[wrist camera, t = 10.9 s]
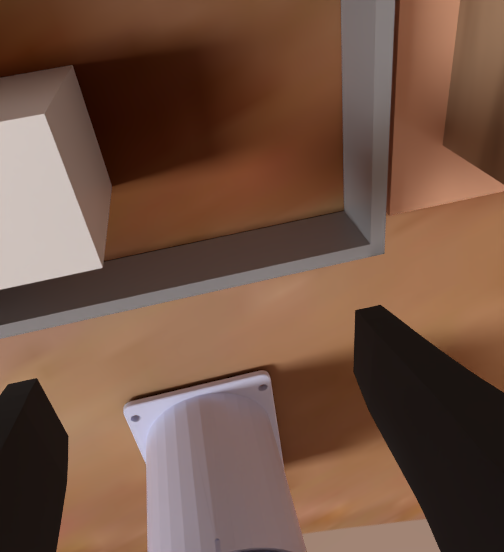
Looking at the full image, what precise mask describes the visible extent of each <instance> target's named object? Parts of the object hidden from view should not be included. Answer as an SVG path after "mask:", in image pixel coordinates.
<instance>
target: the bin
mask: <svg viewBox="0 0 504 552" xmlns="http://www.w3.org/2000/svg"><path fill="white" fill-rule="evenodd" d="M394 15H395V0H341V34H342V100H343V167H344V211H342V212H337V213H332V214H327V215H323V216H318V217H313V218H309V219H304V220H299V221H294V222H290V223H285V224H280V225H276V226H271V227H266V228H261V229H257V230H252V231H247V232H242V233H238V234H233V235H228V236H224V237H219V238H214V239H209V240H205V241H200V242H195V243H191V244H186V245H181V246H176V247H172V248H167V249H162V250H157V251H153V252H148V253H143V254H139V255H134V256H129V257H124V258H120V259H115V260H110V261H106V262H103V268H100V269H95V270H91V271H86V272H81V273H77V274H72V275H67V276H62V277H58V278H53V279H48V280H44V281H39V282H34V283H30V284H25V285H20V286H15V287H11V288H6V289H1V290H0V339H1V338H6V337H10V336H15V335H19V334H24V333H28V332H33V331H37V330H42V329H46V328H51V327H55V326H60V325H64V324H69V323H73V322H78V321H82V320H87V319H91V318H96V317H101V316H105V315H110V314H114V313H119V312H123V311H128V310H132V309H137V308H141V307H146V306H150V305H155V304H159V303H164V302H168V301H173V300H177V299H182V298H186V297H191V296H195V295H200V294H204V293H209V292H213V291H218V290H222V289H227V288H231V287H236V286H240V285H245V284H250V283H254V282H259V281H263V280H268V279H272V278H277V277H281V276H286V275H290V274H295V273H299V272H304V271H308V270H313V269H317V268H322V267H326V266H331V265H335V264H340V263H344V262H349V261H353V260H358V259H362V258H367V257H371V256H376V255H380V254H384V248H385V225H386V202H387V178H388V155H389V132H390V109H391V85H392V62H393V39H394Z"/></svg>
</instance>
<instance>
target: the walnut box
mask: <svg viewBox="0 0 504 552" xmlns="http://www.w3.org/2000/svg"><path fill="white" fill-rule="evenodd" d="M443 146H444V147H446V148H447V149H449V150H451V151H452V152H454V153H455V154H457V155H458V156H460V157H462V158H463V159H465V160H466V161H468V162H469V163H471V164H472V165H474V166H476V167H477V168H479V169H480V170H482V171H483V172H485V173H487V174H488V175H490V176H491V177H493V178H494V179H496V180H497V181H499V182H501V183H502V184H504V0H460V6H459V14H458V22H457V31H456V39H455V47H454V55H453V63H452V72H451V80H450V88H449V96H448V105H447V113H446V121H445V129H444V137H443Z"/></svg>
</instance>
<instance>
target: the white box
mask: <svg viewBox="0 0 504 552" xmlns="http://www.w3.org/2000/svg"><path fill="white" fill-rule="evenodd" d="M111 191H112V185H111V182H110V179H109V176H108V172H107V169H106V166H105V163H104V160H103V157H102V154H101V151H100V148H99V145H98V142H97V139H96V136H95V132H94V129H93V126H92V123H91V120H90V117H89V114H88V111H87V108H86V105H85V102H84V99H83V96H82V93H81V89H80V86H79V83H78V80H77V77H76V74H75V71H74V68H73V65H70V66H64V67H58V68H53V69H47V70H41V71H35V72H30V73H24V74H18V75H13V76H7V77H1V78H0V290H1V289H6V288H11V287H15V286H20V285H25V284H30V283H34V282H39V281H44V280H48V279H53V278H58V277H62V276H67V275H72V274H77V273H81V272H86V271H91V270H95V269H100V268H103V261H104V252H105V244H106V235H107V226H108V217H109V208H110V200H111Z"/></svg>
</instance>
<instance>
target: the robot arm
mask: <svg viewBox="0 0 504 552" xmlns="http://www.w3.org/2000/svg"><path fill="white" fill-rule="evenodd" d="M353 372H354V374H355V377H356V379H357V382H358V385H359V387H360V390H361V392H362V395H363V397H364V400H365V402H366V405H367V407H368V410H369V412H370V414H371V415H372V417H373V419H374V421H375V423H376V425H377V427H378V429H379V430H380V432H381V434H382V436H383V438H384V440H385V441H386V443H387V445H388V447H389V449H390V451H391V452H392V454H393V456H394V458H395V460H396V462H397V463H398V465H399V467H400V469H401V471H402V473H403V474H404V476H405V478H406V480H407V482H408V484H409V485H410V487H411V489H412V491H413V493H414V495H415V496H416V498H417V500H418V502H419V504H420V506H421V508H422V510H423V512H424V515H425V517H426V519H427V521H428V523H429V526H430V528H431V530H432V533H433V535H434V537H435V540H436V542H437V544H438V547H439V549H440V551H441V552H504V393H503V392H502V391H500V390H499V389H497V388H495V387H494V386H492V385H491V384H489V383H488V382H486V381H484V380H483V379H481V378H480V377H478V376H477V375H475V374H474V373H472V372H471V371H469V370H468V369H466V368H465V367H463V366H462V365H461V364H459V363H458V362H456V361H455V360H454V359H452V358H451V357H449V356H448V355H446V354H445V353H444V352H442V351H441V350H439V349H438V348H437V347H435V346H434V345H433V344H431V343H430V342H429V341H427V340H426V339H425V338H423V337H422V336H421V335H419V334H418V333H417V332H415V331H414V330H413V329H411V328H410V327H409V326H408V325H406V324H405V323H404V322H402V321H401V320H400V319H398V318H397V317H396V316H395V315H393V314H392V313H391V312H389V311H388V310H387V309H385V308H384V307H383V306H381V305H378V306H373V307H369V308H364V309H359V310H355V339H354V371H353ZM263 384H264V385H263ZM260 385H262V386H260ZM123 412H124V416H125V418H126V420H127V422H128V425H129V427H130V429H131V431H132V434H133V436H134V438H135V440H136V443H137V445H138V447H139V449H140V452H141V454H142V456H143V458H144V461H145V463H146V473H147V541H148V552H307V551H306V547H305V544H304V540H303V536H302V533H301V529H300V526H299V522H298V518H297V515H296V511H295V508H294V504H293V501H292V497H291V493H290V490H289V486H288V483H287V479H286V476H285V472H284V463H283V457H282V450H281V444H280V437H279V431H278V424H277V417H276V411H275V404H274V398H273V391H272V385H271V378H270V375H269V373H268V372H267V371H264V370H261V371H256V372H252V373H247V374H243V375H239V376H235V377H231V378H226V379H222V380H218V381H214V382H210V383H205V384H201V385H197V386H193V387H189V388H184V389H180V390H176V391H172V392H168V393H163V394H159V395H155V396H151V397H147V398H142V399H138V400H134V401H130V402H128V403H126V404H125V405H124V410H123ZM134 415H138V416H134ZM67 470H68V435H67V433H66V431H65V429H64V427H63V425H62V424H61V422H60V420H59V418H58V416H57V414H56V413H55V411H54V409H53V407H52V405H51V403H50V401H49V400H48V398H47V396H46V394H45V392H44V390H43V389H42V387H41V385H40V383H39V381H38V379H37V378H36V379H31V380H26V381H22V382H17V383H12V384H8V385H7V387H6V388H5V389H4V391H3V392H2V394H1V395H0V552H56V549H57V543H58V537H59V531H60V524H61V518H62V512H63V505H64V499H65V492H66V485H67Z"/></svg>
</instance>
